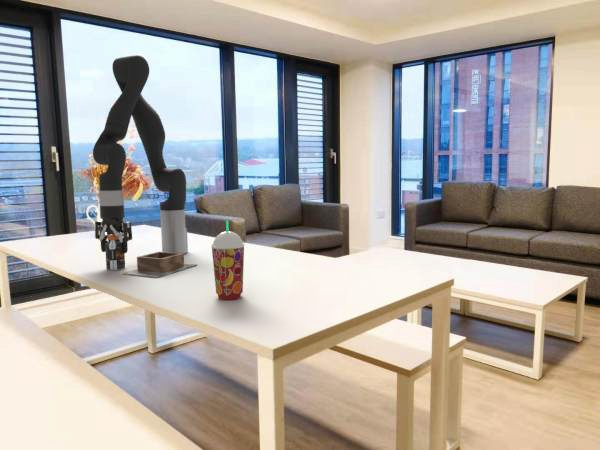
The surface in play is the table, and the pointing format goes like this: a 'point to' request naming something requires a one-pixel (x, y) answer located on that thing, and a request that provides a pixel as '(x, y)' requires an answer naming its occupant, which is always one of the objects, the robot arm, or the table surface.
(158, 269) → the well
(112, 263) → the pill bottle
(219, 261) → the smoothie
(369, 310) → the table surface
